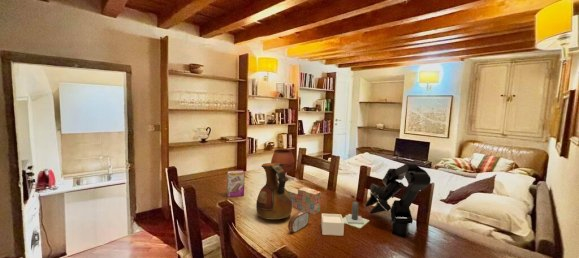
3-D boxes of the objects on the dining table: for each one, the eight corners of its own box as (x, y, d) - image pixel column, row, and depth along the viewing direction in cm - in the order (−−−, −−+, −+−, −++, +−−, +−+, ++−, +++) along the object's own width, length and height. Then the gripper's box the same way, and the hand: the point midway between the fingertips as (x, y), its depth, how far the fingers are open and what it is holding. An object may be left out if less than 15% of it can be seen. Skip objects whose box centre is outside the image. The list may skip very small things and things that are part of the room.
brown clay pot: (268, 182, 203) (268, 151, 201) (273, 176, 222) (274, 147, 220) (292, 184, 200) (292, 152, 198) (295, 177, 219) (296, 148, 217)
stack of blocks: (285, 205, 159) (286, 185, 158) (292, 202, 164) (292, 183, 163) (314, 215, 146) (314, 194, 144) (320, 211, 150) (320, 191, 149)
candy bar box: (227, 197, 169) (227, 173, 167) (226, 195, 174) (226, 171, 172) (244, 196, 172) (244, 172, 171) (243, 193, 177) (243, 170, 176)
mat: (369, 220, 140) (369, 220, 140) (360, 228, 130) (360, 228, 130) (349, 214, 147) (349, 213, 147) (339, 221, 138) (339, 220, 138)
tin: (305, 222, 136) (305, 207, 135) (310, 224, 134) (310, 209, 133) (287, 233, 124) (287, 216, 123) (292, 235, 122) (292, 218, 121)
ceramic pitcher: (275, 206, 156) (276, 158, 154) (299, 217, 142) (301, 164, 139) (248, 215, 143) (249, 162, 140) (272, 228, 128) (273, 169, 126)
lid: (360, 217, 143) (361, 200, 142) (363, 224, 134) (364, 206, 133) (345, 216, 143) (346, 199, 142) (348, 223, 135) (349, 205, 134)
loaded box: (340, 225, 133) (341, 214, 132) (343, 235, 123) (344, 223, 122) (321, 224, 134) (321, 213, 133) (322, 234, 124) (322, 222, 123)
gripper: (374, 174, 145) (354, 192, 147) (385, 185, 126) (361, 205, 128) (388, 188, 145) (367, 206, 147) (400, 201, 127) (376, 221, 128)
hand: (368, 209), depth 138 cm, fingers open, 9 cm apart
